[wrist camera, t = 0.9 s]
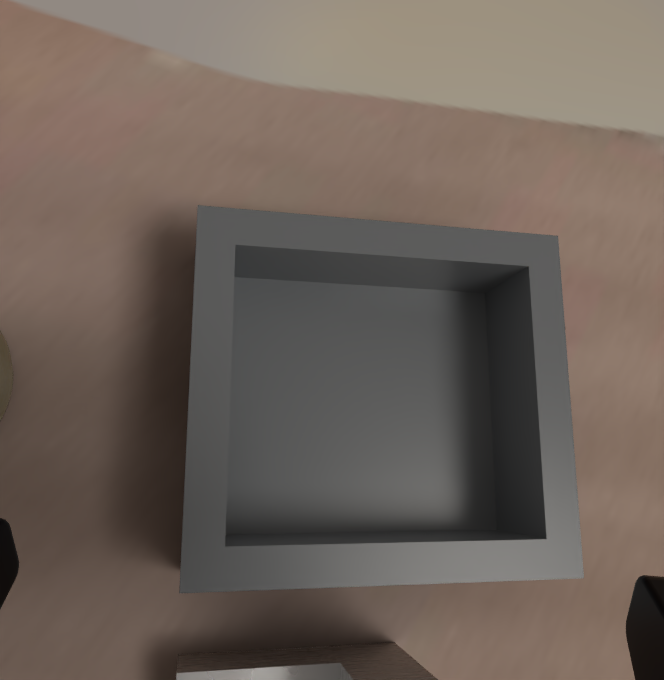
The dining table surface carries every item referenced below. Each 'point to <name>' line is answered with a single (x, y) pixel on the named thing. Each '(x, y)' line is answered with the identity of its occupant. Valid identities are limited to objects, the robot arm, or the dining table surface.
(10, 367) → the flower pot
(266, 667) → the bracket
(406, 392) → the bin
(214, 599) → the dining table surface
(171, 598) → the dining table surface
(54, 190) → the dining table surface
